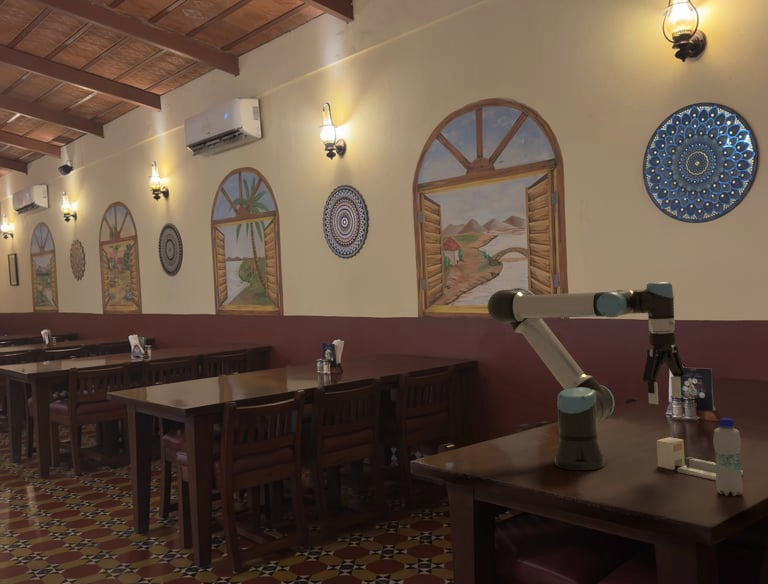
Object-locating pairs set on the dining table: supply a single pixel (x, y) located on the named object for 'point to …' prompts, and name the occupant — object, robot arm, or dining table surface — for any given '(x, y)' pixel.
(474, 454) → the dining table surface
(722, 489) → the bottle
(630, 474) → the dining table surface
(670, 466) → the block
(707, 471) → the rail board
